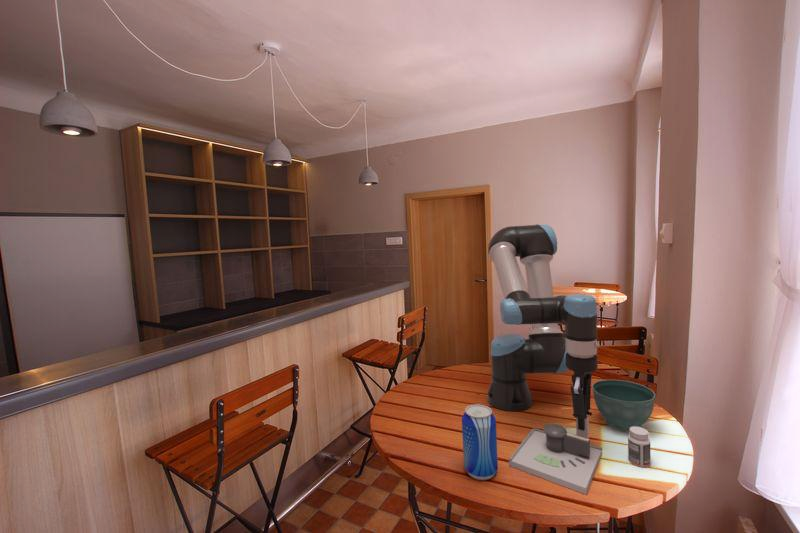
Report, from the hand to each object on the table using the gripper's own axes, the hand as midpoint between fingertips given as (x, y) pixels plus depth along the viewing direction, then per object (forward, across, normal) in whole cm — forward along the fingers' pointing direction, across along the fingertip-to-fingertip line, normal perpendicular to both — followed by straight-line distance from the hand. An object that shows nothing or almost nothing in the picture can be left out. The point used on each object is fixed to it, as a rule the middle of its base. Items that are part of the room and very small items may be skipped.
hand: (582, 439), depth 96 cm
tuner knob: (+2, -5, +3) cm, 6 cm away
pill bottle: (+4, +3, -12) cm, 13 cm away
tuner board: (+4, -8, +5) cm, 10 cm away
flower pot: (+4, +21, -6) cm, 22 cm away
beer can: (+4, -23, +19) cm, 30 cm away
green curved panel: (+2, -9, +3) cm, 10 cm away
